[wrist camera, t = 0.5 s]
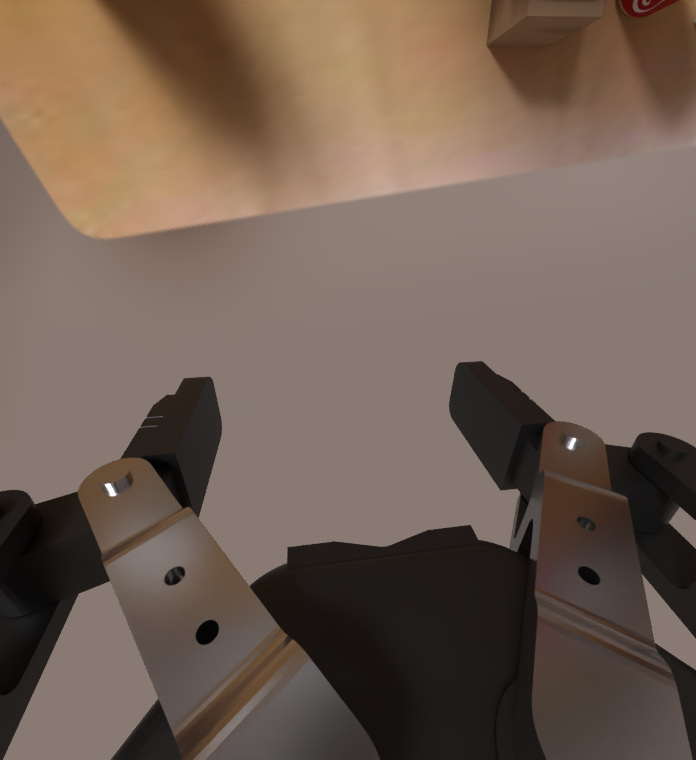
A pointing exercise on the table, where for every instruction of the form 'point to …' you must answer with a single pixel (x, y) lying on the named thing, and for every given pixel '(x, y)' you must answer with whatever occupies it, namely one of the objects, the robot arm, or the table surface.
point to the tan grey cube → (539, 20)
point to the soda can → (642, 7)
